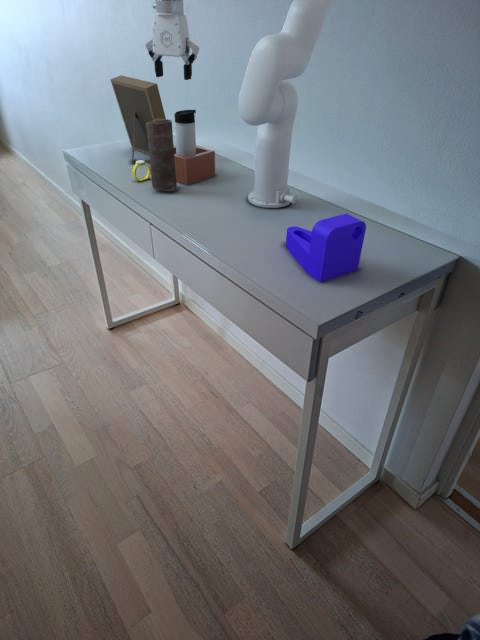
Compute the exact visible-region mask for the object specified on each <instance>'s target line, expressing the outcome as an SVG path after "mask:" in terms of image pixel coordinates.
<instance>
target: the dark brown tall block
mask: <svg viewBox="0 0 480 640" xmlns="http://www.w3.org/2000/svg"><path fill="white" fill-rule="evenodd" d="M146 127H147V137H148V146H149V155H148V158H149V166H150V170H151V172H150V177H151V178H150V179H151V187H152V188H153V189H154V190H157V191H163V192H164V191H165V192H176V191H177V190H178V184H177V183H178V182H177V181H176V170H175V158H174V145H175V144H174V132H173V122H172V120H171V119H168V118H166V119H159V118H158V119H155V120H154V121H150V122H146Z"/></svg>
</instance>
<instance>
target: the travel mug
mask: <svg viewBox="0 0 480 640" xmlns="http://www.w3.org/2000/svg"><path fill="white" fill-rule="evenodd" d="M195 114H197V110H196V109H183V110H177V111H175V113H174V134H175V136H174V137H175V138H174V139H175V146H176V154H177V155H180V156H184V157H189V156H193V155H196V146H197V142H196V119H195V118H196V115H195Z"/></svg>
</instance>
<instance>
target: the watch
mask: <svg viewBox="0 0 480 640" xmlns="http://www.w3.org/2000/svg"><path fill="white" fill-rule="evenodd" d="M143 165H145V167H146V170H147V171H146V172H147V173H146V175H145V176H144V177H142V178H138V177H137V175H136V172H137V169H138V167H139V166H143ZM131 172H132V173H131V174H132V177H133V179H134V180H136V181H137V182H143V181H146V180H148V179H149V178H150V177H151V168H150V164H149V163H147V162H145V160H143V159H139V160H136V161H135V164H134V165H133V166H132V169H131Z"/></svg>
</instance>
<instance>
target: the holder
mask: <svg viewBox="0 0 480 640" xmlns="http://www.w3.org/2000/svg"><path fill="white" fill-rule="evenodd" d="M174 158H175V170H176V182H177V183H181V184H183V185H186V186H188V185H192V184H195V183H197V182H201V181H203V180H206V179H209V178H212V177H215V176H216V150H213V149H210V148H206V147H202V146H199V145H196V155H193V156H189V157H184V156H180V155H177V154H176V145H175V146H174Z"/></svg>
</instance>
